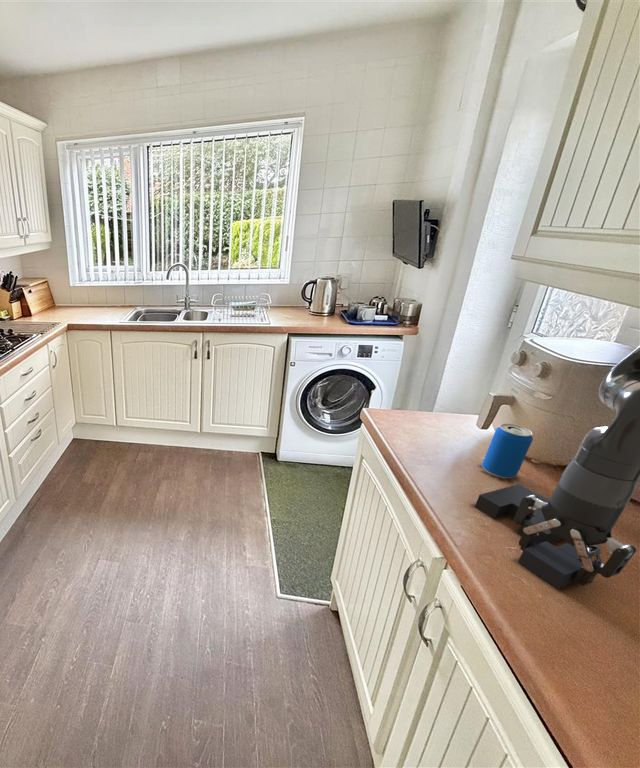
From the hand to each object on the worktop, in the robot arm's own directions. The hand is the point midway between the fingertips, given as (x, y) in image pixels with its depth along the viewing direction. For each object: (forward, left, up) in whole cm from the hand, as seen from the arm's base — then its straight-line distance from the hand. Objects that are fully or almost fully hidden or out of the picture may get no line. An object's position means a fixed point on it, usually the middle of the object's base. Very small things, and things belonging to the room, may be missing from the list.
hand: (550, 565), depth 71 cm
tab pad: (-2, 0, -1) cm, 2 cm away
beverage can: (-23, -23, -1) cm, 33 cm away
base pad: (-11, -10, -1) cm, 15 cm away
